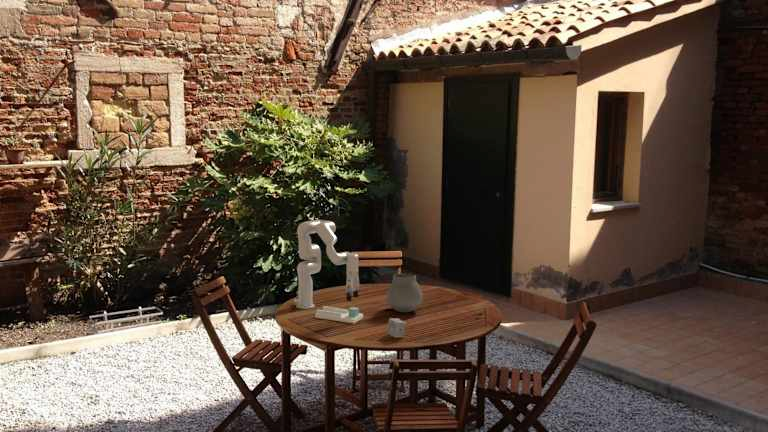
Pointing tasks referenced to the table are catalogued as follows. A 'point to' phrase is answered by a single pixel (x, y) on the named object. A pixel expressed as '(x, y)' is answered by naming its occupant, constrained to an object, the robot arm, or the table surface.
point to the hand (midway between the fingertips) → (352, 299)
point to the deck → (337, 315)
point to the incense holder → (396, 328)
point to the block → (353, 312)
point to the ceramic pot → (404, 293)
